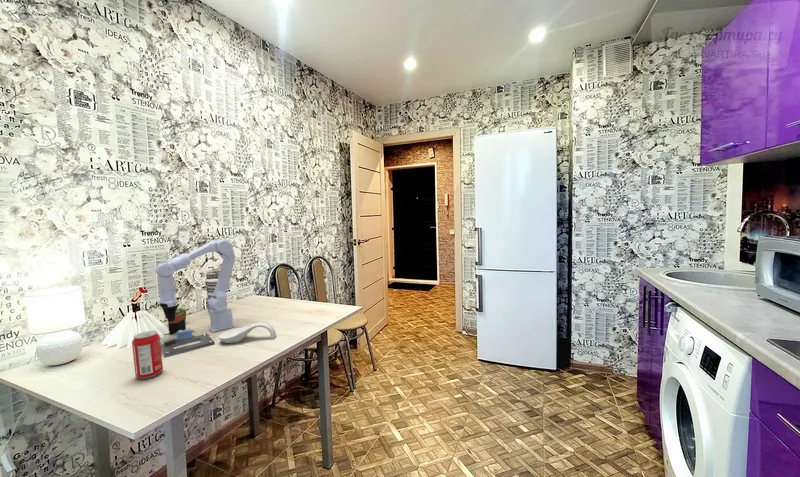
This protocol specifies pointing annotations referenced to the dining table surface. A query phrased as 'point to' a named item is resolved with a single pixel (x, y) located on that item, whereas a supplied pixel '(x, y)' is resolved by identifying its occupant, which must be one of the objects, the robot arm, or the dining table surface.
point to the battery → (177, 323)
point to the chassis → (169, 350)
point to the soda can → (147, 354)
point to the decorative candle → (211, 283)
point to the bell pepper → (182, 311)
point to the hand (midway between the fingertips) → (170, 319)
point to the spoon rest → (243, 333)
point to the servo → (184, 334)
